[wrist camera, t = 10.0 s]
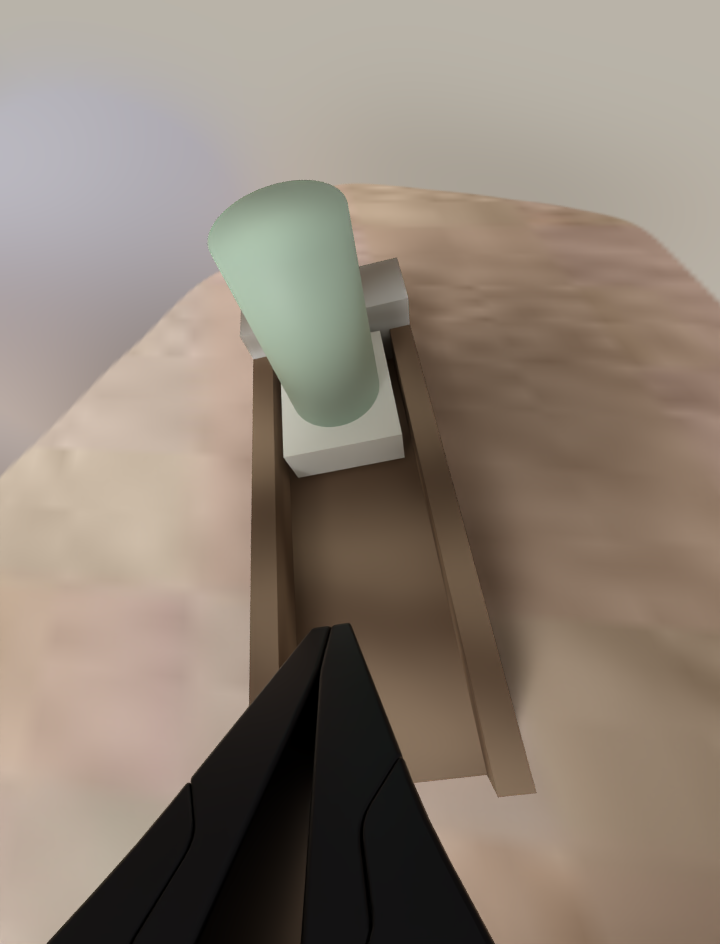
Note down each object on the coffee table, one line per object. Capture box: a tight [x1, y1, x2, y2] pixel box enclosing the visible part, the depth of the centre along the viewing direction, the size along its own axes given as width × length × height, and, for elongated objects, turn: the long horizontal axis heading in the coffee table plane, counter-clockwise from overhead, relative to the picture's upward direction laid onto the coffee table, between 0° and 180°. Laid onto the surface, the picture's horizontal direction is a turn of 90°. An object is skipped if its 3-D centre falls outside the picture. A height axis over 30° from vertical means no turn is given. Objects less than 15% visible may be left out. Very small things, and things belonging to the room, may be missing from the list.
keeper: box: [208, 180, 405, 478], centre depth 14 cm, size 6×5×9 cm
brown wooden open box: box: [240, 258, 536, 797], centre depth 16 cm, size 21×8×5 cm, turn 7°
